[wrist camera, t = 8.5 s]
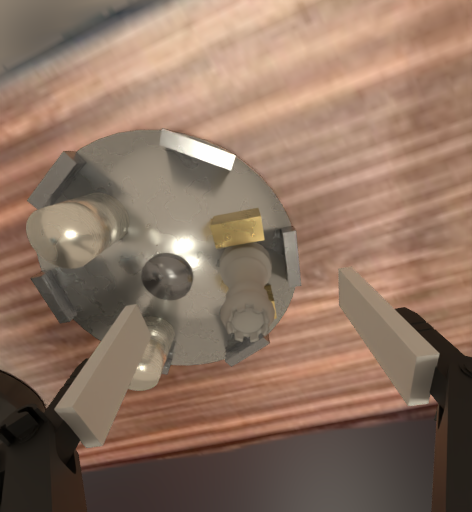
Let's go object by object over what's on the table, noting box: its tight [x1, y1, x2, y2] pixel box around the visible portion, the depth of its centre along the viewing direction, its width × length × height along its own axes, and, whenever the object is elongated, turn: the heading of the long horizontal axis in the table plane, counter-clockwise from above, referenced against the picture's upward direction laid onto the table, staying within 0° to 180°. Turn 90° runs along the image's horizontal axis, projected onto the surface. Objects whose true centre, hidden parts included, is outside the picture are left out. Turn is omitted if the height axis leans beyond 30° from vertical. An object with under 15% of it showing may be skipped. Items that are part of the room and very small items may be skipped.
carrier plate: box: [26, 128, 301, 391], centre depth 19 cm, size 23×23×6 cm
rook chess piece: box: [219, 242, 275, 343], centre depth 16 cm, size 4×4×8 cm
